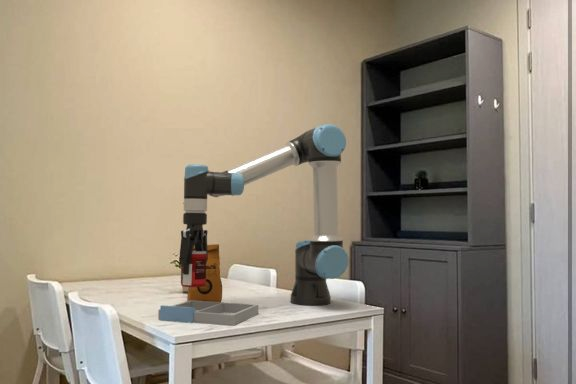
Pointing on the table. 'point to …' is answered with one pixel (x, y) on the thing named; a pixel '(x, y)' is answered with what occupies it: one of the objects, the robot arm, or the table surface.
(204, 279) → the canned food
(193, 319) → the grey shallow tray
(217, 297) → the coffee package
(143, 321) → the table surface
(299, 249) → the robot arm
